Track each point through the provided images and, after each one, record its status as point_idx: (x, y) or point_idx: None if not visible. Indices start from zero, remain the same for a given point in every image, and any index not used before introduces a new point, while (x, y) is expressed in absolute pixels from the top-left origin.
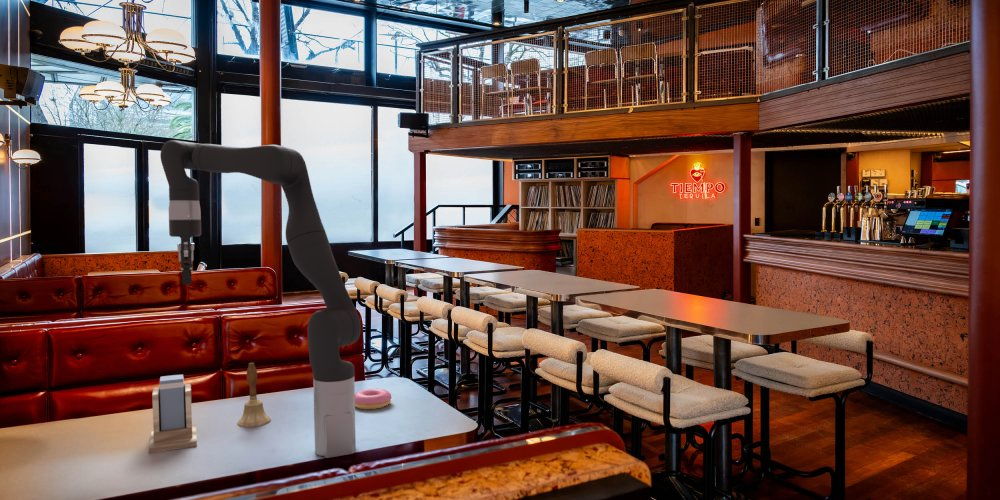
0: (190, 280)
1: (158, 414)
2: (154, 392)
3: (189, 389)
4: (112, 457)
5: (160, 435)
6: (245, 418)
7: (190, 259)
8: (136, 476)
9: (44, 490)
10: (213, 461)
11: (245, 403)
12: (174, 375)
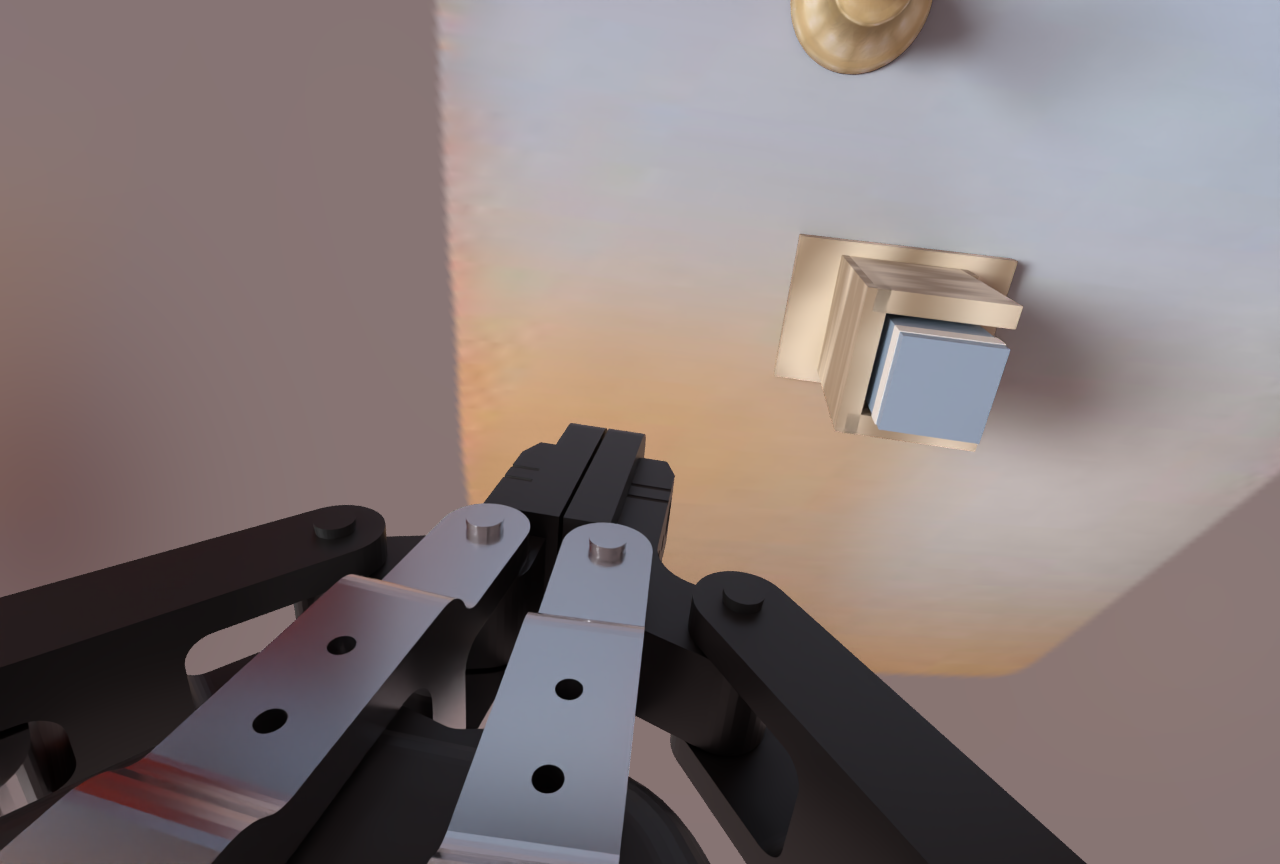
0: (640, 460)
1: None
2: (930, 439)
3: (988, 308)
4: (927, 484)
5: None
6: (890, 37)
7: (960, 770)
8: (1162, 447)
9: (1075, 624)
10: (1232, 230)
11: (871, 21)
12: (899, 374)
